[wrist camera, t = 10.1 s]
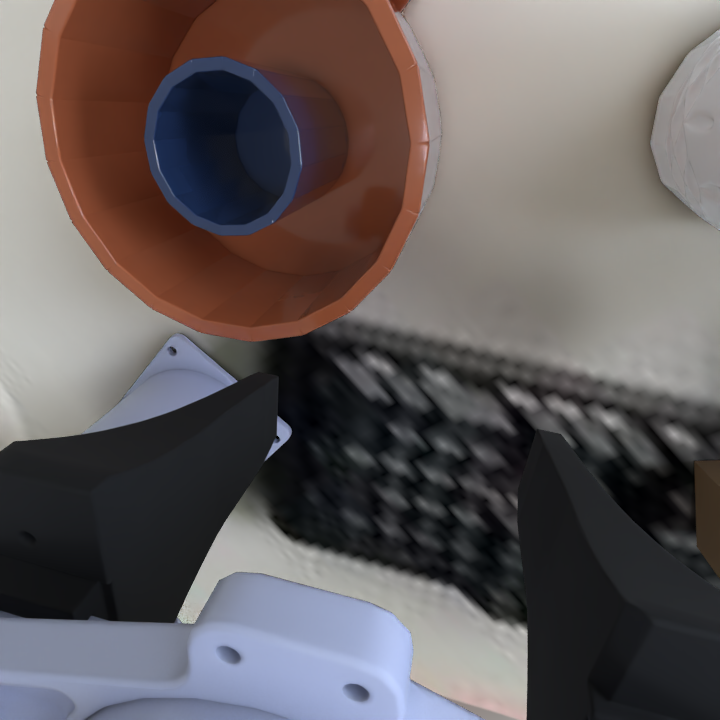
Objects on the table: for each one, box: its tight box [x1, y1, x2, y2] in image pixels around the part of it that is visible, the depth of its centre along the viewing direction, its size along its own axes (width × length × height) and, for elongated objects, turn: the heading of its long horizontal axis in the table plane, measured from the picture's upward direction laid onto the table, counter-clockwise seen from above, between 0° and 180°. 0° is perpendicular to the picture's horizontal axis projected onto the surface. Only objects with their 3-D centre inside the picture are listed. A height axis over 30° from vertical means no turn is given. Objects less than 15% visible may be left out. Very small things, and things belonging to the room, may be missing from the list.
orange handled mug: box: [36, 0, 442, 342], centre depth 18 cm, size 16×12×7 cm
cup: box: [144, 56, 349, 236], centre depth 18 cm, size 5×5×6 cm
